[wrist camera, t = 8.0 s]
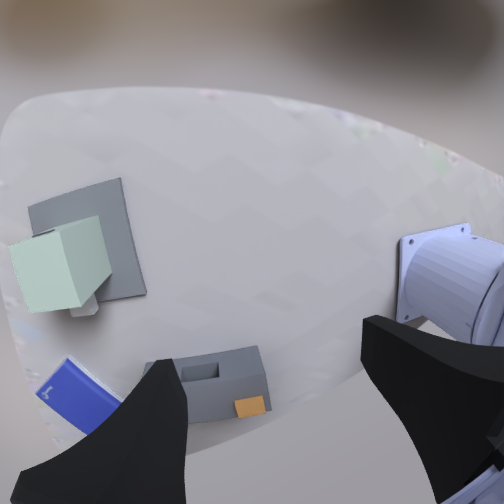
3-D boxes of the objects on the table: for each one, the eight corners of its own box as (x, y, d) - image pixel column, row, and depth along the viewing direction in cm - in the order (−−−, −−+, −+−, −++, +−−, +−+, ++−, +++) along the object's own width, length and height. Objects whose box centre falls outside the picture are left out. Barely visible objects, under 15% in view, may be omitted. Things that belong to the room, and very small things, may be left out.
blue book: (33, 394, 19) (126, 461, 22) (65, 360, 18) (171, 439, 22) (39, 385, 20) (128, 451, 24) (71, 350, 20) (172, 428, 23)
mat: (120, 177, 17) (118, 177, 16) (147, 291, 19) (145, 294, 18) (30, 206, 16) (27, 206, 15) (58, 305, 18) (56, 307, 18)
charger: (98, 214, 17) (58, 229, 11) (119, 296, 18) (93, 336, 13) (52, 226, 16) (7, 245, 11) (74, 303, 18) (41, 340, 13)
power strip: (257, 344, 21) (266, 377, 17) (263, 382, 22) (273, 415, 18) (145, 361, 20) (136, 395, 16) (161, 397, 21) (157, 431, 17)
